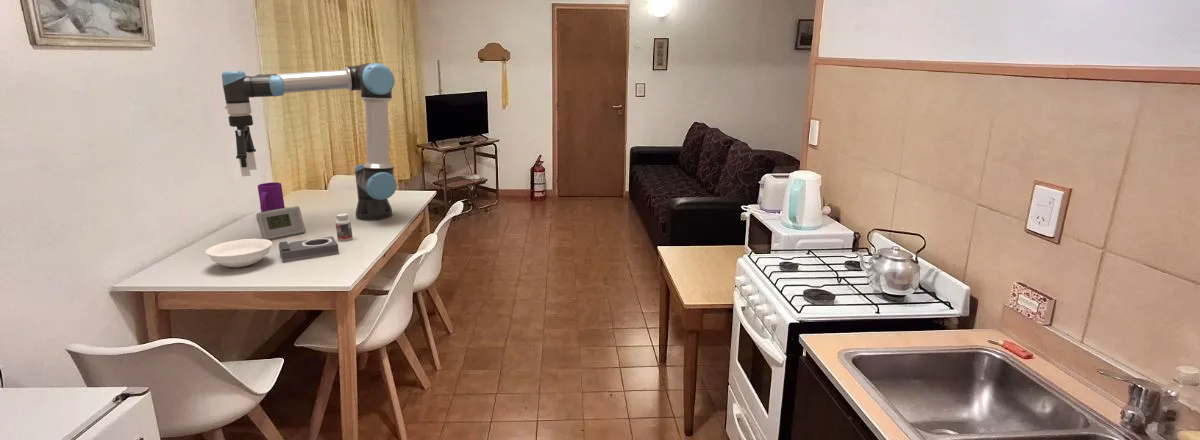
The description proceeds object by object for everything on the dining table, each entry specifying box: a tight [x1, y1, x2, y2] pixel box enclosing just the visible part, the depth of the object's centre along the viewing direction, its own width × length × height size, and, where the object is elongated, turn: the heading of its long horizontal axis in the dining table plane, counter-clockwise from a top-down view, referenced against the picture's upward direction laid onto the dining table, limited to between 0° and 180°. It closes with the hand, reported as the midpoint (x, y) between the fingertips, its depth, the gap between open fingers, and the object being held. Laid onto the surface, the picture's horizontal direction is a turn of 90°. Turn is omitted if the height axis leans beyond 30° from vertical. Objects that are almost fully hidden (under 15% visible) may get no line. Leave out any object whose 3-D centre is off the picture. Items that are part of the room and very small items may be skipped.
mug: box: [257, 182, 286, 212], centre depth 271 cm, size 9×16×15 cm, turn 8°
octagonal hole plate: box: [278, 236, 340, 263], centre depth 226 cm, size 18×12×4 cm, turn 120°
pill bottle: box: [335, 212, 353, 242], centre depth 242 cm, size 5×5×10 cm
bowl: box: [204, 238, 273, 268], centre depth 215 cm, size 20×20×6 cm
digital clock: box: [255, 205, 306, 241], centre depth 247 cm, size 16×9×11 cm, turn 123°
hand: (249, 172), depth 236 cm, fingers open, 13 cm apart
